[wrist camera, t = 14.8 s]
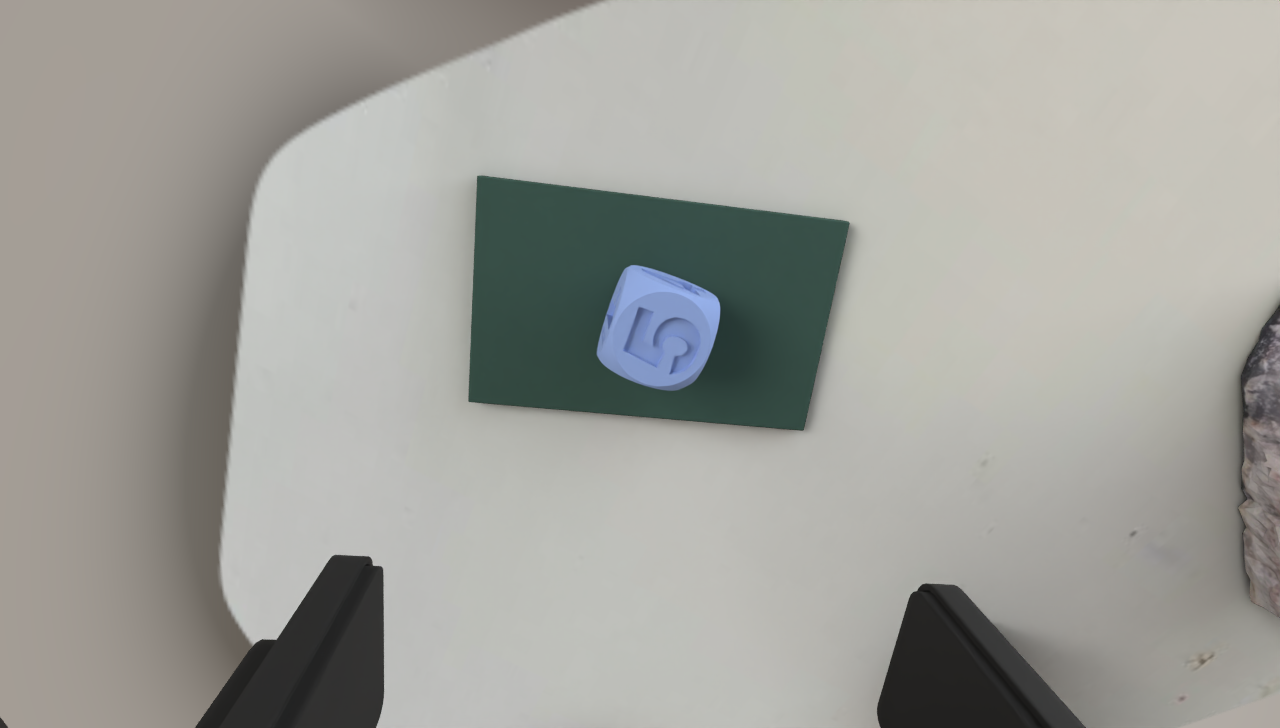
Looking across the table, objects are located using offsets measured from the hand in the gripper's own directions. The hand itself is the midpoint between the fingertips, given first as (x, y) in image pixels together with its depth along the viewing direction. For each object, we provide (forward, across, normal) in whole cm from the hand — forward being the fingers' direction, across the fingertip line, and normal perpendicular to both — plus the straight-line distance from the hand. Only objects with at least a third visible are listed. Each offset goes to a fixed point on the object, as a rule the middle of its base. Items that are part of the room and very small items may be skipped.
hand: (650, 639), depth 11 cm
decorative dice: (+18, -2, -2) cm, 18 cm away
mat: (+18, -2, -2) cm, 19 cm away
